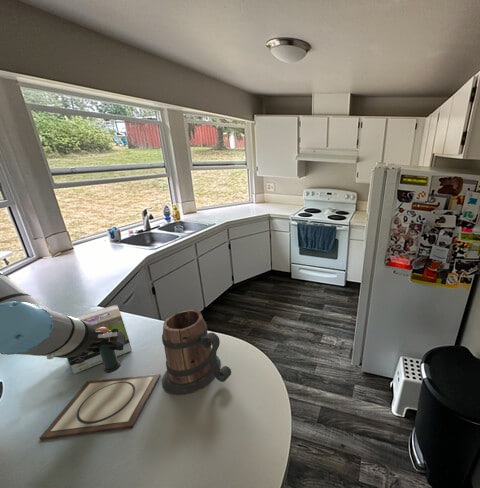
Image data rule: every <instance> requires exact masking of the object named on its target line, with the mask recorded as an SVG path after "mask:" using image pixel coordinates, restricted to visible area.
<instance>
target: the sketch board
mask: <svg viewBox="0 0 480 488" xmlns="http://www.w3.org/2000/svg"><path fill="white" fill-rule="evenodd" d="M160 378H161V373H156V374H147V375H137V376H128V377H117V378H108V379H107V378H106V379H98V380H89V381H86V382H85V383H84V385H83V386H82V387H81V388H80V389H79V390H78V392H76V394H75V395H74V396H73V398H72V399H71V400H70V401H69V402H68V403H67V404H66V405H65V407H63V409H62V410H61V412H60V413H59V414H58V415H57V416H56V417H55V418H54V420H53V421H52V422H51V424H50V425H49V426H48V427H47V428H46V429H45V430H44V431H43V433H42V434H41V435H40V436H39V440H41V441H44V440H50V439H58V438H65V437H71V436H80V435H88V434H95V433H103V432H110V431H116V430H117V431H119V430H125V429H132V428H134V426H135V425H136V423H137V420H138V419H139V417H140V415H141V413H142V412H143V409H144V408H145V406H146V404H147V403H148V400H149V399H150V397H151V394H152V393H153V391H154V389H155V387H156V385H157V383H158V382H159V380H160Z"/></svg>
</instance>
